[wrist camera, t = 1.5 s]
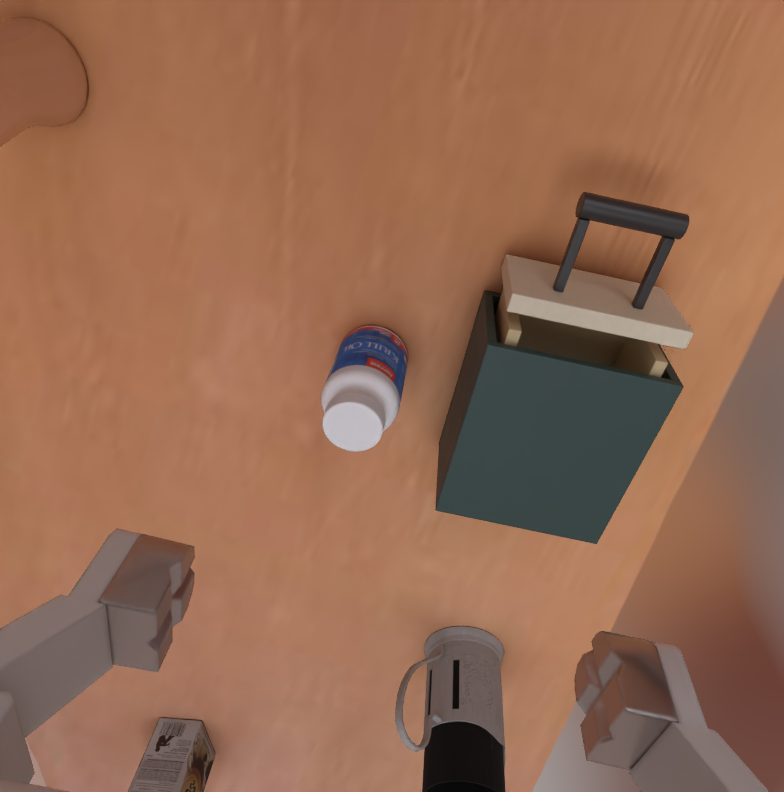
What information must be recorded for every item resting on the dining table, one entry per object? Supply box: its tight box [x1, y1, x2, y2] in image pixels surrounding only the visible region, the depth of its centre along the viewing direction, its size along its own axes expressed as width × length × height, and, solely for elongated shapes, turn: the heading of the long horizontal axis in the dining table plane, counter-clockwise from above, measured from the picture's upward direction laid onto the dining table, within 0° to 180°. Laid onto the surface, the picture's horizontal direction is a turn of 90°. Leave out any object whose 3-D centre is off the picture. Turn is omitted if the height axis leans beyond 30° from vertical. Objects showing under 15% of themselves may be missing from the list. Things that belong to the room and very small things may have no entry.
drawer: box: [494, 192, 694, 377], centre depth 40 cm, size 19×11×7 cm, turn 169°
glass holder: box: [395, 626, 505, 792], centre depth 59 cm, size 9×14×15 cm, turn 40°
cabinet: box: [436, 291, 683, 544], centre depth 44 cm, size 14×12×8 cm
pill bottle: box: [321, 326, 408, 451], centre depth 43 cm, size 6×5×10 cm
